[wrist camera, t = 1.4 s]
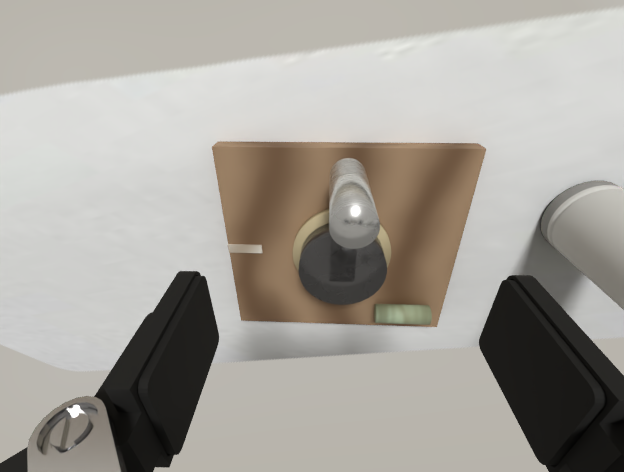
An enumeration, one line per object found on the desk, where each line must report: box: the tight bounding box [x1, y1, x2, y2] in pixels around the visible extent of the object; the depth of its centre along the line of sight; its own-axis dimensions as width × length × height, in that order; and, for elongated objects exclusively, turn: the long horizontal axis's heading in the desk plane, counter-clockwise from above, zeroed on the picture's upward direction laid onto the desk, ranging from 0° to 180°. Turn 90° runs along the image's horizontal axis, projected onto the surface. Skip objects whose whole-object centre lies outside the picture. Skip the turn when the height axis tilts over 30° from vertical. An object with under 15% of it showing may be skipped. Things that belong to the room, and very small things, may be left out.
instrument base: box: [212, 142, 486, 327], centre depth 28 cm, size 20×18×3 cm
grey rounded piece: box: [299, 158, 387, 305], centre depth 21 cm, size 7×13×9 cm, turn 0°
